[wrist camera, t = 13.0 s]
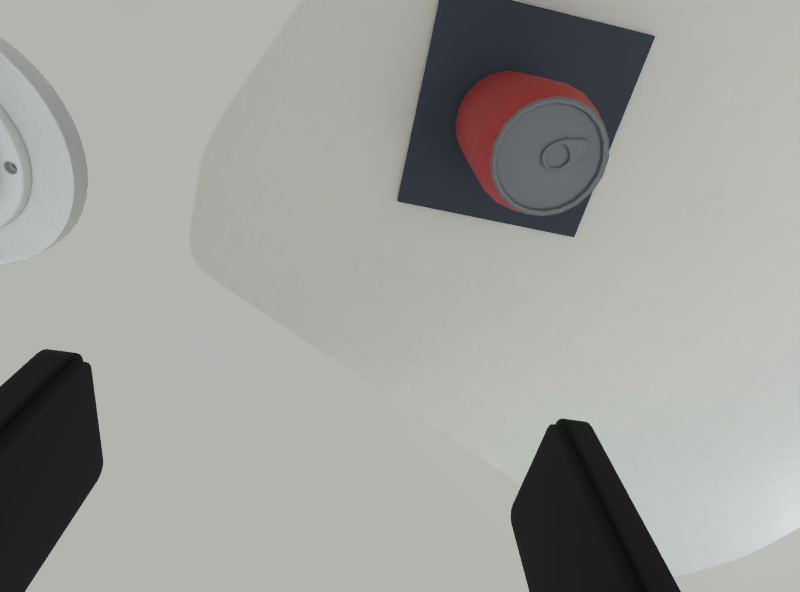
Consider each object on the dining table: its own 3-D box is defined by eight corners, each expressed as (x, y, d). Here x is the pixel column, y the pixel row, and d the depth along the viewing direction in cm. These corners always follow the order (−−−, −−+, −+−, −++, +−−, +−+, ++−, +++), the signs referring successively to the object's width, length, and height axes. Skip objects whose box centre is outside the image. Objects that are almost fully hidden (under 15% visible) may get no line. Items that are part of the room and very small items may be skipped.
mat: (397, 199, 36) (397, 201, 36) (443, -16, 30) (443, -17, 29) (572, 235, 37) (574, 237, 37) (652, 36, 31) (655, 36, 30)
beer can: (558, 152, 34) (629, 201, 23) (468, 182, 35) (498, 243, 24) (539, 54, 31) (611, 60, 20) (442, 91, 32) (463, 114, 21)
